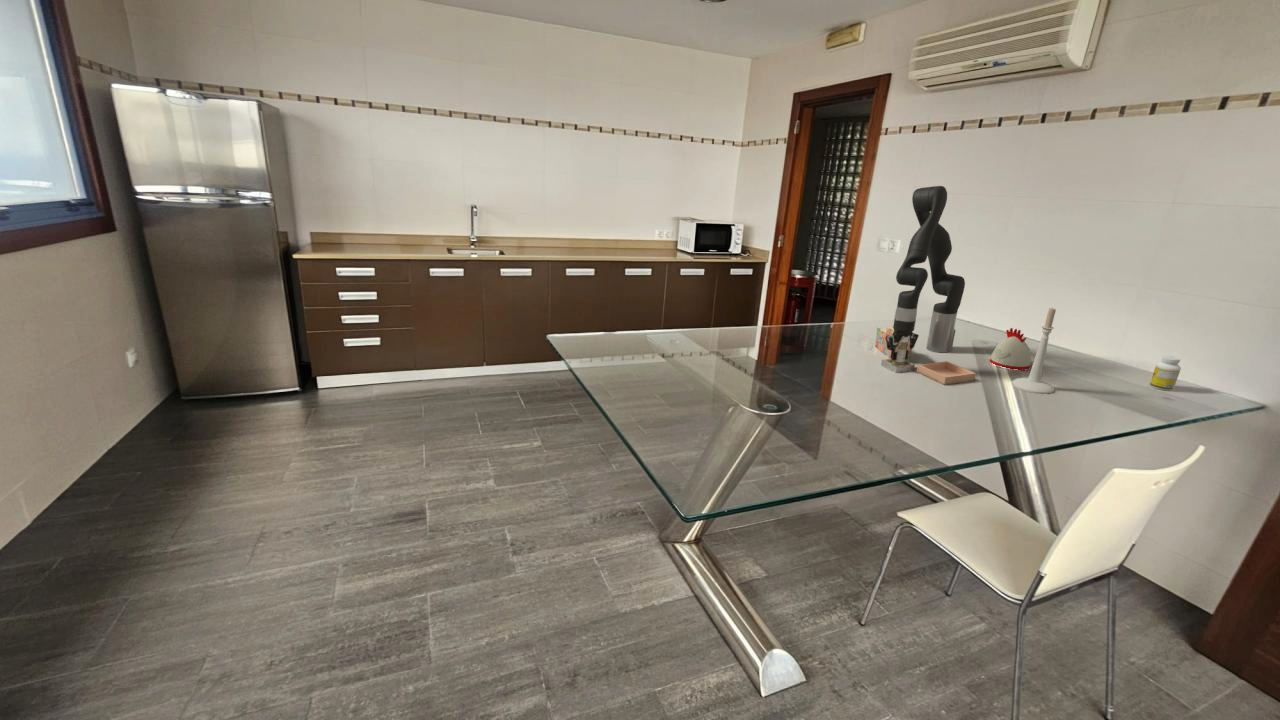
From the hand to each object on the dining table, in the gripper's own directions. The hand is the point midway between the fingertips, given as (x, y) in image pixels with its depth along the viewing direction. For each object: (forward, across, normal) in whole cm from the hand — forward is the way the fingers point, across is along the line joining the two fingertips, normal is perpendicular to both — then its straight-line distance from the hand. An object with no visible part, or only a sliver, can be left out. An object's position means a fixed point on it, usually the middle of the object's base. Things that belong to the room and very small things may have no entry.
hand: (898, 359), depth 215 cm
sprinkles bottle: (+4, 0, 0) cm, 4 cm away
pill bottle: (+4, -76, +45) cm, 88 cm away
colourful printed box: (+4, -9, -15) cm, 18 cm away
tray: (+4, -11, +13) cm, 17 cm away
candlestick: (+4, -33, +31) cm, 45 cm away
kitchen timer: (+4, -46, +10) cm, 47 cm away
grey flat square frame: (+4, 0, 0) cm, 4 cm away
